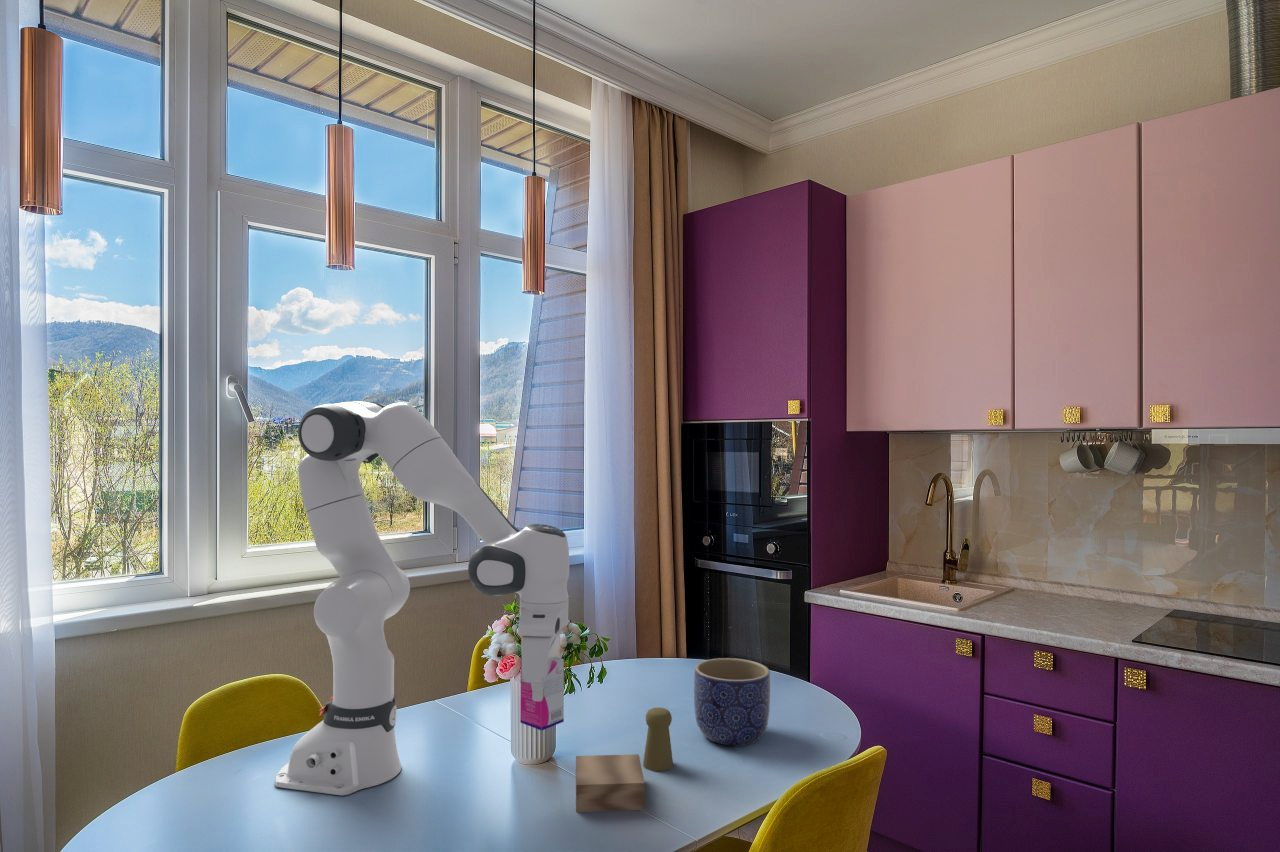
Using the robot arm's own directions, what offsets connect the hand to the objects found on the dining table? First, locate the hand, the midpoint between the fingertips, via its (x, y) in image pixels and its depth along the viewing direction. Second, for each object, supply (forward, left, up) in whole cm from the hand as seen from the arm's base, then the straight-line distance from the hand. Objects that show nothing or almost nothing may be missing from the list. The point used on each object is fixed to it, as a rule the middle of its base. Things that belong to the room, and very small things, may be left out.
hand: (542, 691), depth 138 cm
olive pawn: (+21, +15, -19) cm, 32 cm away
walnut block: (+12, +2, -20) cm, 23 cm away
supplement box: (0, 0, -6) cm, 6 cm away
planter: (+37, +30, -20) cm, 52 cm away
